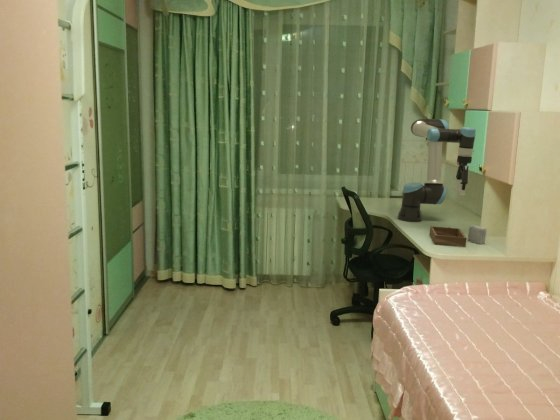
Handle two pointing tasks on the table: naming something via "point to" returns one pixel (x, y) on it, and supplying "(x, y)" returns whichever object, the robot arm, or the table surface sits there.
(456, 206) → the table surface
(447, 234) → the walnut box
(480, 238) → the medicine box
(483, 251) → the table surface
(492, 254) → the table surface
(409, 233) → the table surface
